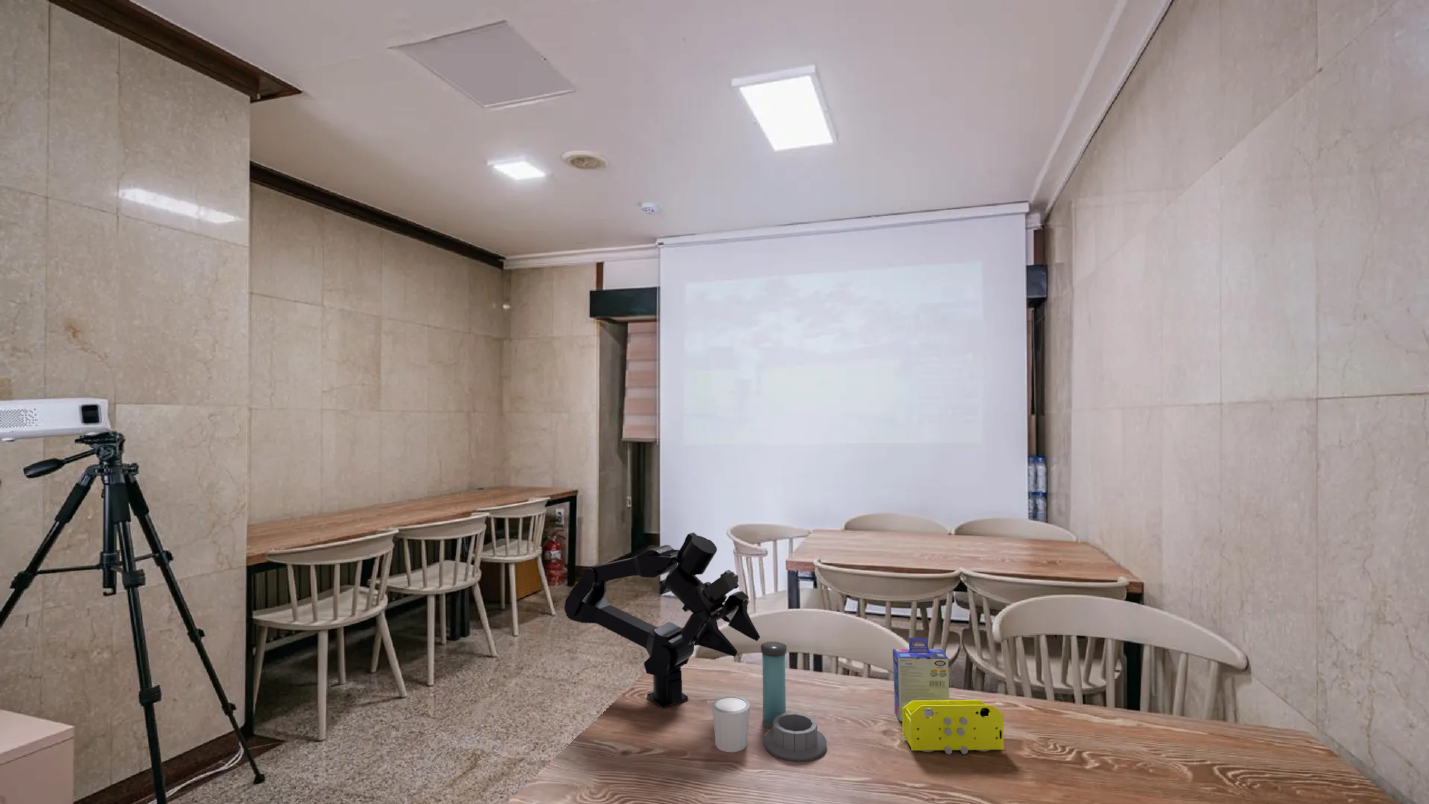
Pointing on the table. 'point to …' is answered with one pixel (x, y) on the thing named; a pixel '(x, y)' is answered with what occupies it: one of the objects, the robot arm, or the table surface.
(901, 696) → the ink cartridge box
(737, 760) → the table surface
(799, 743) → the ring mount
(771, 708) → the teal capped cylinder
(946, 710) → the yellow toy chassis
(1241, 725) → the table surface
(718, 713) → the shot glass
